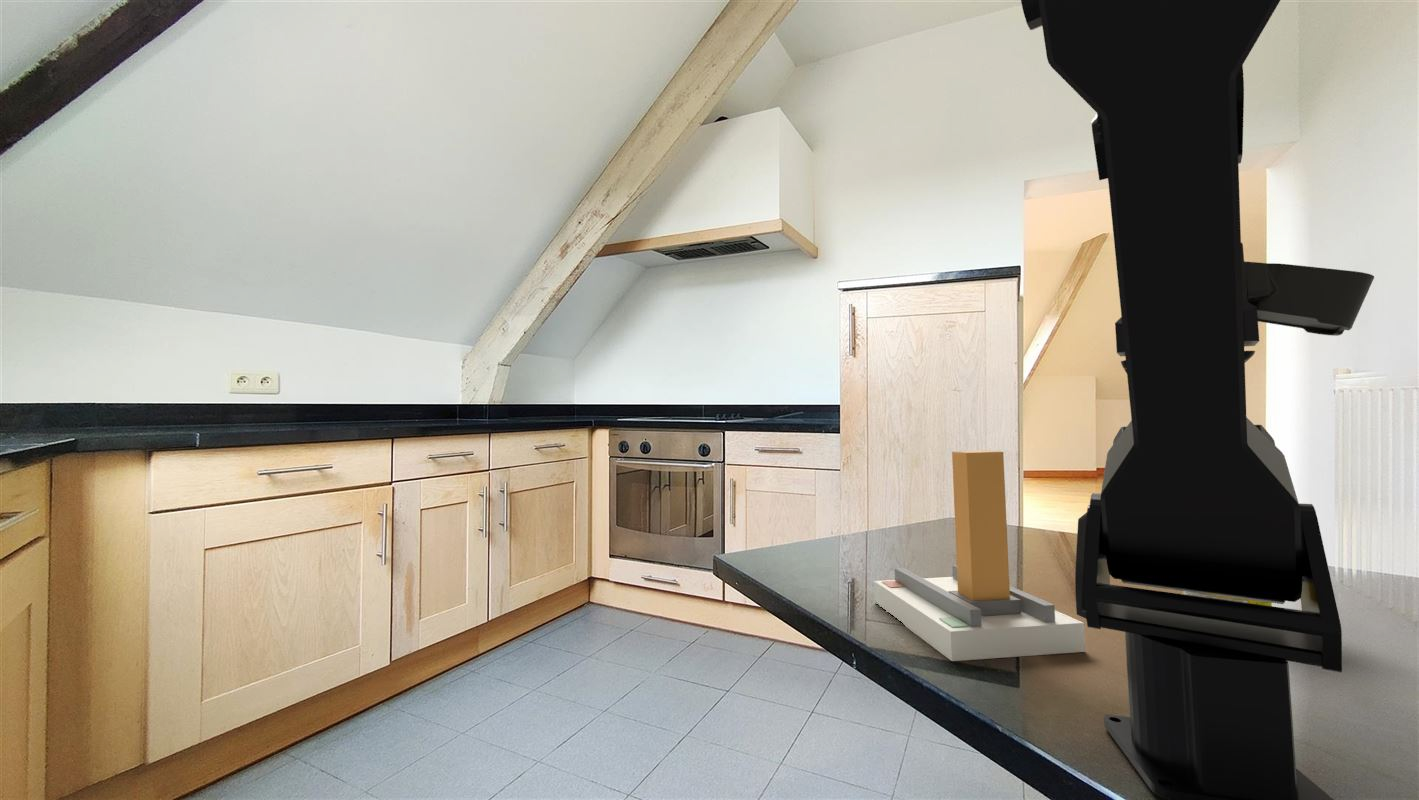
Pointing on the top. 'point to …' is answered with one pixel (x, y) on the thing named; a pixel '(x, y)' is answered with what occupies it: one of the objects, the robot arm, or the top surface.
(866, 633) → the top surface
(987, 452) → the handle
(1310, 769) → the top surface
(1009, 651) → the plate
